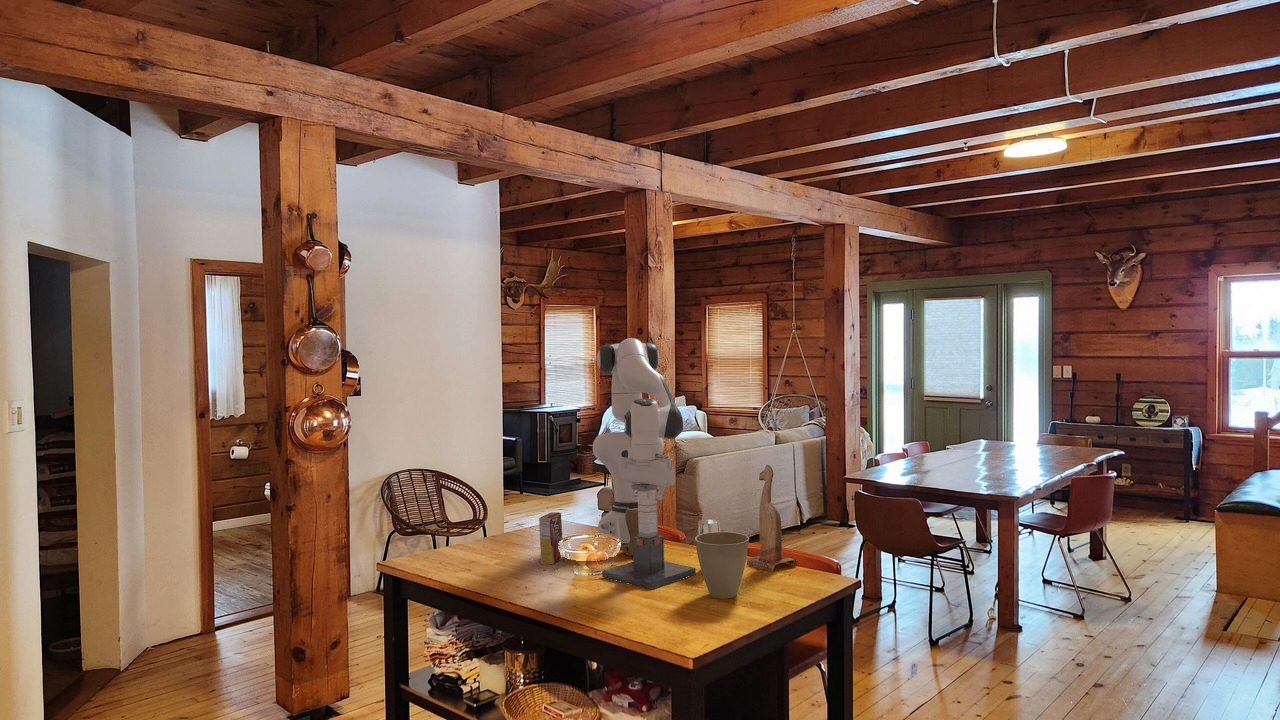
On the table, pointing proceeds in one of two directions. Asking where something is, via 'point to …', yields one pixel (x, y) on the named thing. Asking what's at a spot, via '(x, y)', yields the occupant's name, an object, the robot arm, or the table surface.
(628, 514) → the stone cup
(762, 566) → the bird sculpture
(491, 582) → the table surface
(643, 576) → the stand
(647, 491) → the light grey tall block
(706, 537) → the plant pot
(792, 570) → the table surface
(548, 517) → the candy box
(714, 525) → the beer glass
